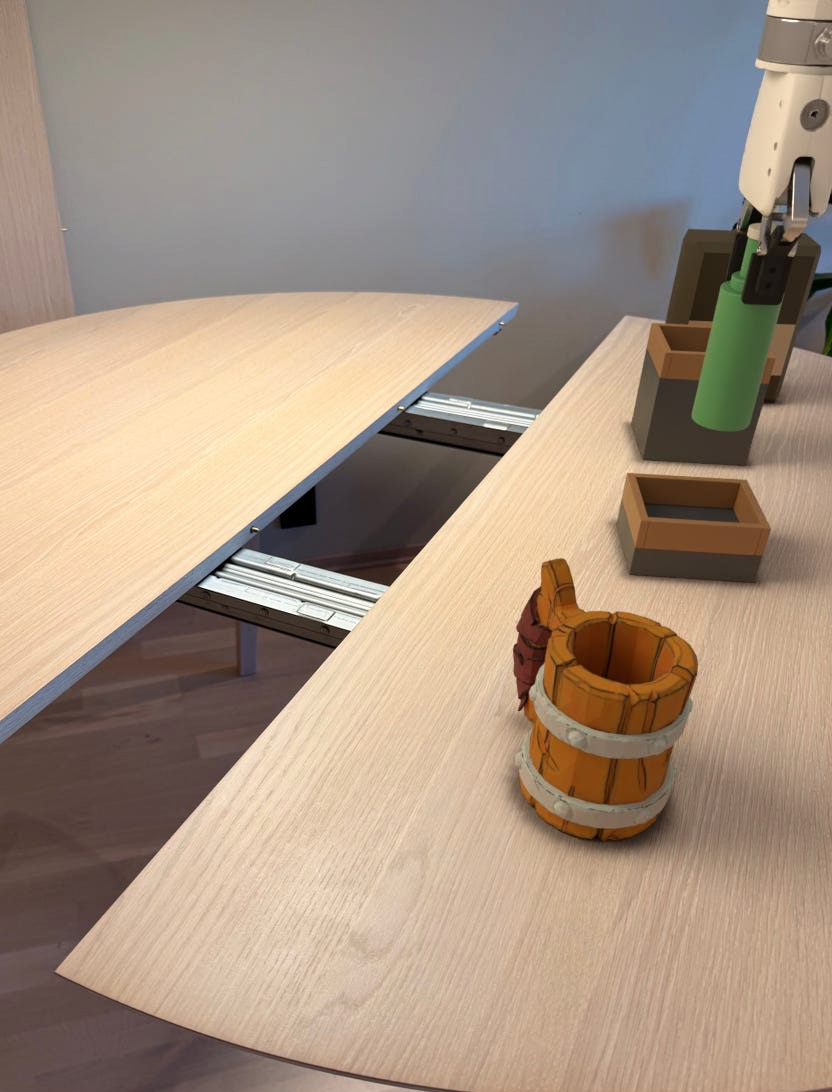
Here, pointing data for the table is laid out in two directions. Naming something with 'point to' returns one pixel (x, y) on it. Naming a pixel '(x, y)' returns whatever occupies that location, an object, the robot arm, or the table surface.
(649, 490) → the shallow open tray
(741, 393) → the green bottle
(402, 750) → the table surface
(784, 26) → the robot arm
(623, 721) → the mug
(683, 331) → the grey storage bin
